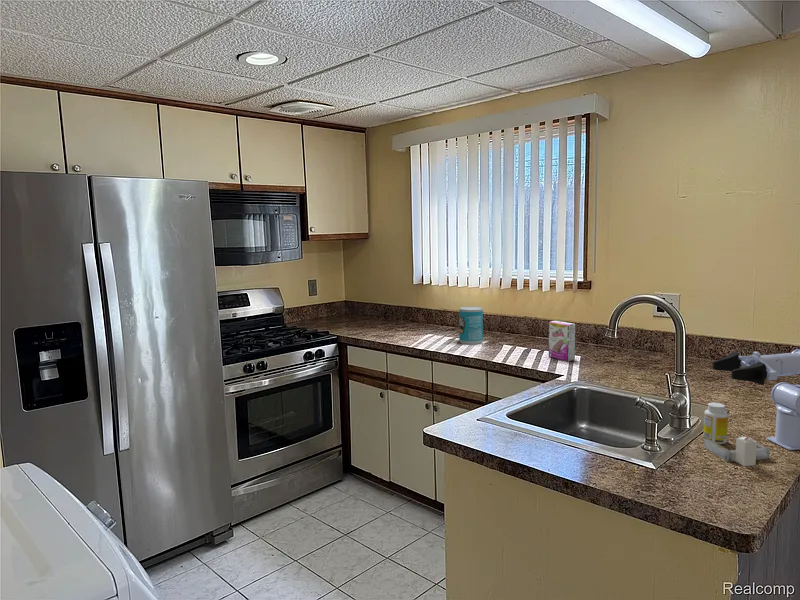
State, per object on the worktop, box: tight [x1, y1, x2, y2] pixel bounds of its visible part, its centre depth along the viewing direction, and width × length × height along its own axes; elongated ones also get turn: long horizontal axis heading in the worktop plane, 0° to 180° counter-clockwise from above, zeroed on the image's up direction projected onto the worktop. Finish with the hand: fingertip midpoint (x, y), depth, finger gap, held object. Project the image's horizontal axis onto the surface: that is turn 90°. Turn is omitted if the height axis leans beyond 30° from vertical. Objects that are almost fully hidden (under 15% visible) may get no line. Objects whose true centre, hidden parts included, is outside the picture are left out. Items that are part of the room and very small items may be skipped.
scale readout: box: [734, 436, 758, 467], centre depth 134 cm, size 3×3×6 cm
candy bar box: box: [548, 320, 576, 363], centre depth 243 cm, size 11×5×16 cm, turn 34°
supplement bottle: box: [702, 402, 729, 445], centre depth 148 cm, size 6×6×10 cm
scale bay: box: [703, 435, 770, 463], centre depth 140 cm, size 11×9×2 cm
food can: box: [458, 305, 484, 346], centre depth 282 cm, size 12×12×18 cm
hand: (722, 370), depth 142 cm, fingers open, 7 cm apart
